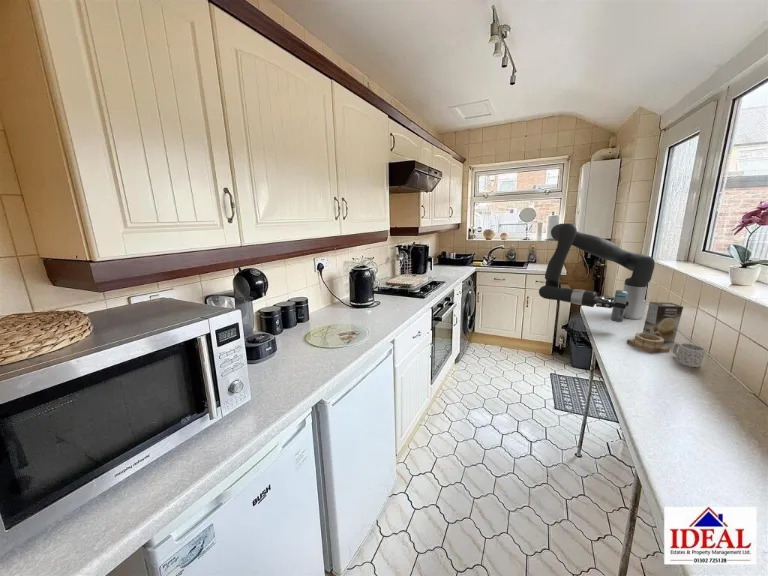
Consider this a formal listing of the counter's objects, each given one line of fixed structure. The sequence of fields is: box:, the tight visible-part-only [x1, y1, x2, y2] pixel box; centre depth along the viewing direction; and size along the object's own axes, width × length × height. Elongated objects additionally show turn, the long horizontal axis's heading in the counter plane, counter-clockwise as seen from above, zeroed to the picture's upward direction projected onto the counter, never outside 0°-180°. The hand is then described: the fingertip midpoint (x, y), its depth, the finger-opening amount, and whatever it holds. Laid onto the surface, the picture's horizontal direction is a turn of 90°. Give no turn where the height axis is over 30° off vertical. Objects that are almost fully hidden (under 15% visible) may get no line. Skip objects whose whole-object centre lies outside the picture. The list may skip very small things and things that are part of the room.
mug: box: [672, 342, 706, 368], centre depth 112 cm, size 10×7×7 cm, turn 176°
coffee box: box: [642, 301, 684, 343], centre depth 130 cm, size 9×6×16 cm
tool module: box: [610, 289, 628, 323], centre depth 137 cm, size 4×4×14 cm
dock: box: [626, 332, 671, 354], centre depth 124 cm, size 9×10×4 cm
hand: (626, 305), depth 135 cm, fingers closed on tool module, 4 cm apart
